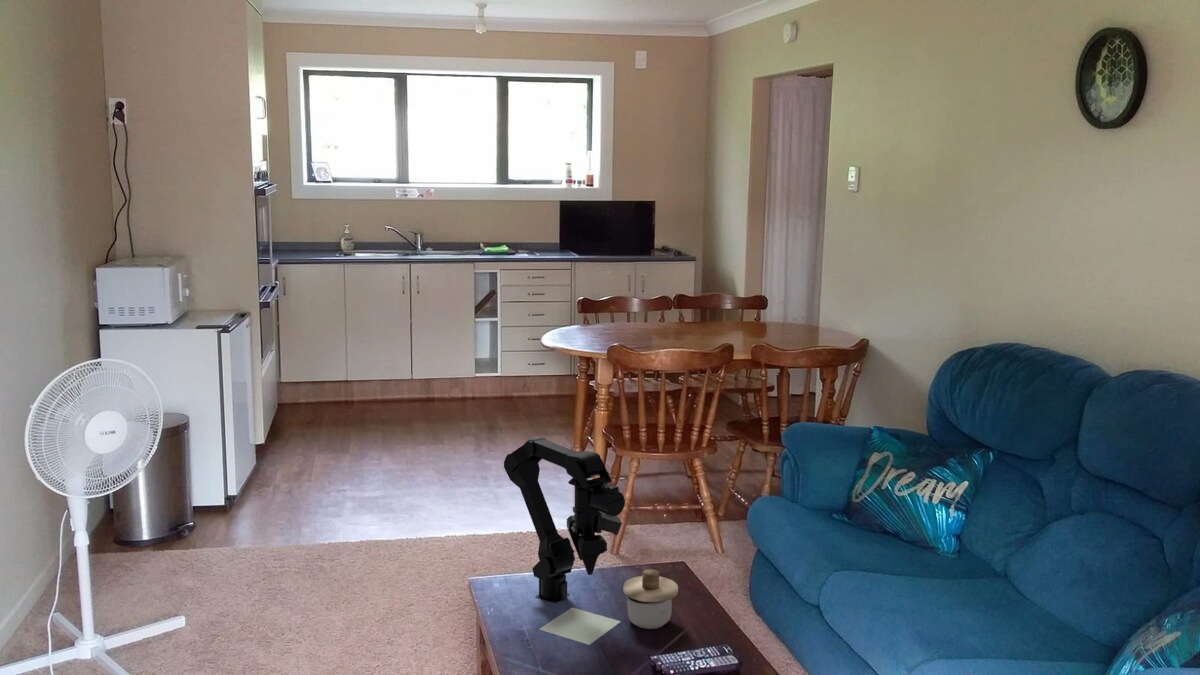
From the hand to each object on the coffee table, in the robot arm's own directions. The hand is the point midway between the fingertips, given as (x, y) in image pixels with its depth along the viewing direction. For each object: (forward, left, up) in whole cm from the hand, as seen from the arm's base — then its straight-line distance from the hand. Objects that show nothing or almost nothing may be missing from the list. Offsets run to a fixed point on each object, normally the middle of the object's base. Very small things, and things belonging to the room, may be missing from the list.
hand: (586, 567), depth 237 cm
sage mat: (+3, -7, -12) cm, 14 cm away
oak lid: (+15, +5, -4) cm, 17 cm away
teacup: (+15, +5, -12) cm, 20 cm away
